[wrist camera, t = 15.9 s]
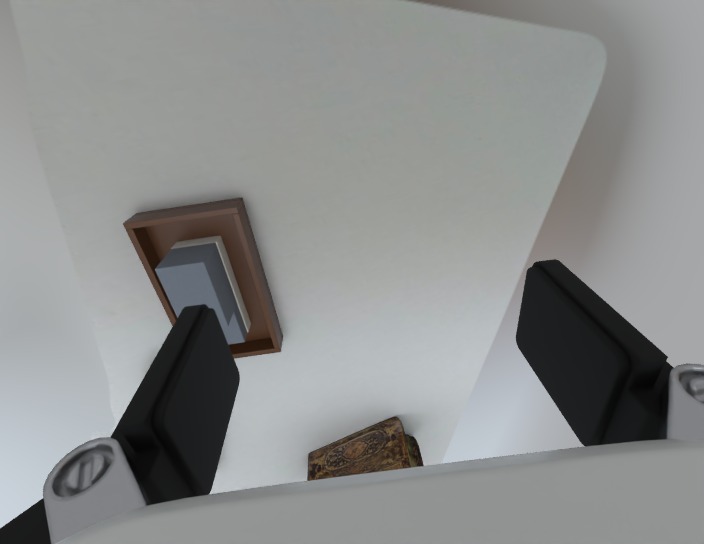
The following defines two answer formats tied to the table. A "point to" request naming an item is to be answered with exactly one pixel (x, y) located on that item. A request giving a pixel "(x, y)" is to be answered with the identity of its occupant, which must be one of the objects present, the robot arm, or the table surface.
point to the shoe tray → (234, 227)
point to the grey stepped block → (205, 283)
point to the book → (366, 452)
